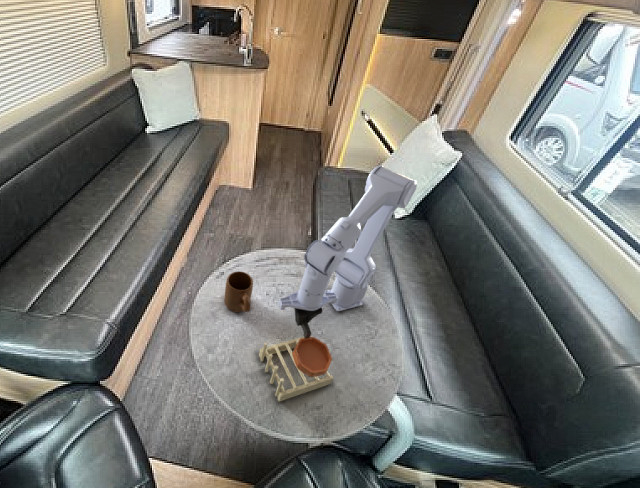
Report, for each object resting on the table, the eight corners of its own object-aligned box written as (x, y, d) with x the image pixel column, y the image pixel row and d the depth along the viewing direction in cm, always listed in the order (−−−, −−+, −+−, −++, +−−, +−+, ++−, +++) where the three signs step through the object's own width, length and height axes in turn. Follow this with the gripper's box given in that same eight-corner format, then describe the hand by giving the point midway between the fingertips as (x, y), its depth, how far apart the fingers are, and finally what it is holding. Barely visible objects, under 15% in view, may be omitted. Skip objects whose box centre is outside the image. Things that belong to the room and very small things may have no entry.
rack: (306, 341, 87) (312, 325, 83) (330, 383, 78) (338, 368, 74) (257, 355, 82) (261, 339, 78) (278, 402, 73) (283, 386, 69)
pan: (334, 373, 76) (340, 364, 73) (300, 379, 74) (305, 370, 71) (309, 314, 87) (314, 304, 84) (279, 318, 85) (283, 308, 82)
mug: (258, 323, 90) (263, 301, 84) (232, 328, 87) (235, 306, 82) (244, 290, 99) (248, 269, 93) (221, 295, 97) (223, 272, 91)
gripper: (334, 270, 79) (320, 306, 87) (278, 275, 76) (269, 312, 84) (347, 292, 74) (331, 328, 82) (288, 299, 70) (277, 336, 78)
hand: (300, 322), depth 82 cm, fingers closed on pan
